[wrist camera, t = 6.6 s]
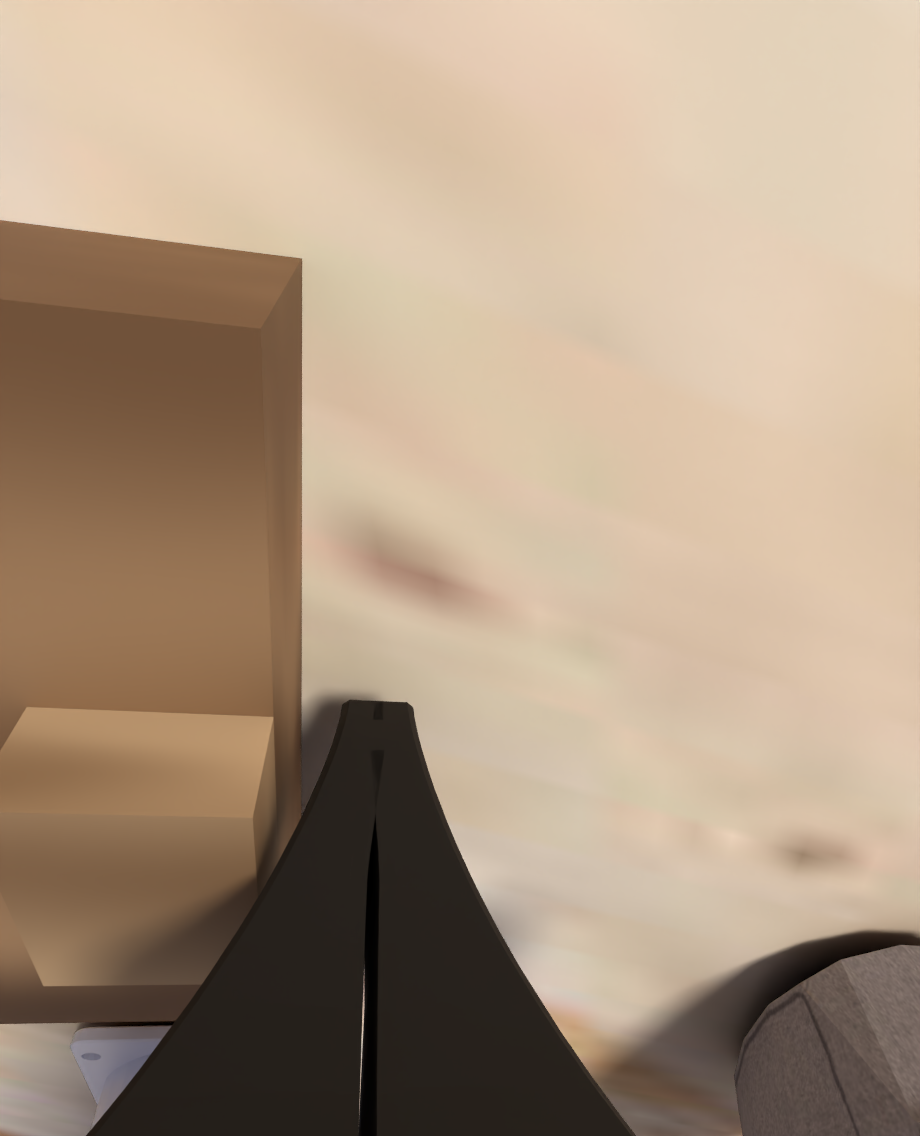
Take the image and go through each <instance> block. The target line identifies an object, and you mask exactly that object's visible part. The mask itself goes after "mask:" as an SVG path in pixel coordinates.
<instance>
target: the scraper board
mask: <svg viewBox="0 0 920 1136" xmlns="http://www.w3.org/2000/svg"><path fill="white" fill-rule="evenodd" d="M301 672H302V259H300V258H292V257H284V256H276V255H268V254H261V253H253V252H245V251H237V250H229V249H221V248H213V247H206V246H198V245H190V244H182V243H174V242H166V241H158V240H151V239H143V238H135V237H127V236H119V235H111V234H103V233H96V232H88V231H80V230H72V229H64V228H56V227H48V226H41V225H33V224H25V223H17V222H9V221H1V220H0V1024H22V1023H81V1022H141V1021H176V1020H177V1018H178V1017H179V1015H180V1014H181V1013H182V1011H183V1010H184V1009H185V1007H186V1006H187V1005H188V1003H189V1002H190V1000H191V999H192V998H193V996H194V995H195V993H196V992H197V991H198V989H199V988H200V986H201V985H202V983H203V982H204V980H205V979H206V978H207V976H208V975H209V973H210V972H211V970H212V969H213V967H214V966H215V964H216V963H217V961H218V960H219V958H220V956H221V955H222V953H223V952H224V950H225V949H226V947H227V946H228V944H229V943H230V941H231V940H232V938H233V937H234V935H235V934H236V932H237V931H238V929H239V927H240V926H241V924H242V923H243V921H244V919H245V918H246V916H247V914H248V913H249V911H250V910H251V908H252V906H253V905H254V903H255V901H256V900H257V898H258V896H259V895H260V893H261V891H262V890H263V888H264V886H265V884H266V883H267V881H268V879H269V877H270V876H271V874H272V872H273V870H274V869H275V867H276V865H277V863H278V861H279V859H280V857H281V855H282V854H283V852H284V850H285V848H286V846H287V844H288V842H289V840H290V838H291V836H292V834H293V832H294V831H295V829H296V827H297V825H298V823H299V821H300V819H301Z"/></svg>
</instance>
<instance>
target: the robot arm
mask: <svg viewBox="0 0 920 1136" xmlns="http://www.w3.org/2000/svg"><path fill="white" fill-rule="evenodd" d="M364 969H365V1010H364V1031H363V1052H362V1073H361V1093H360V1067H361V1035H362V1005H363V976H364ZM70 1049H71V1051H72V1053H73V1055H74V1057H75V1059H76V1061H77V1063H78V1066H79V1068H80V1070H81V1072H82V1074H83V1076H84V1078H85V1080H86V1082H87V1084H88V1087H89V1089H90V1091H91V1093H92V1095H93V1097H94V1099H95V1101H96V1103H97V1105H98V1106H97V1109H96V1113H95V1116H94V1119H93V1123H92V1126H91V1129H90V1132H89V1133H88V1134H87V1135H86V1136H636V1135H635V1134H634V1133H633V1131H632V1130H631V1129H630V1127H629V1126H628V1125H627V1123H626V1122H625V1121H624V1119H623V1118H622V1117H621V1116H620V1114H619V1113H618V1112H617V1110H616V1109H615V1108H614V1106H613V1105H612V1103H611V1102H610V1101H609V1099H608V1098H607V1097H606V1095H605V1094H604V1093H603V1091H602V1090H601V1088H600V1087H599V1086H598V1084H597V1083H596V1082H595V1080H594V1079H593V1078H592V1076H591V1075H590V1073H589V1072H588V1070H587V1069H586V1068H585V1066H584V1065H583V1063H582V1062H581V1060H580V1059H579V1057H578V1056H577V1055H576V1053H575V1052H574V1050H573V1049H572V1047H571V1046H570V1044H569V1043H568V1042H567V1040H566V1039H565V1037H564V1036H563V1034H562V1033H561V1031H560V1030H559V1028H558V1027H557V1025H556V1024H555V1022H554V1020H553V1019H552V1017H551V1016H550V1014H549V1012H548V1011H547V1009H546V1008H545V1006H544V1005H543V1003H542V1001H541V1000H540V998H539V997H538V995H537V994H536V992H535V990H534V989H533V987H532V986H531V984H530V983H529V981H528V979H527V978H526V976H525V975H524V973H523V971H522V970H521V968H520V967H519V965H518V963H517V961H516V960H515V958H514V956H513V954H512V953H511V951H510V949H509V947H508V946H507V944H506V942H505V940H504V939H503V937H502V935H501V933H500V932H499V930H498V928H497V926H496V924H495V922H494V920H493V919H492V917H491V915H490V913H489V911H488V909H487V907H486V905H485V903H484V902H483V900H482V898H481V896H480V894H479V892H478V890H477V888H476V886H475V883H474V881H473V879H472V877H471V875H470V873H469V871H468V869H467V867H466V864H465V862H464V860H463V858H462V856H461V853H460V851H459V849H458V847H457V844H456V842H455V840H454V837H453V835H452V833H451V830H450V828H449V825H448V823H447V820H446V818H445V815H444V813H443V810H442V807H441V805H440V802H439V799H438V797H437V794H436V792H435V789H434V786H433V783H432V780H431V777H430V774H429V771H428V768H427V765H426V762H425V758H424V755H423V752H422V748H421V744H420V741H419V737H418V732H417V728H416V723H415V718H414V711H413V707H412V706H411V705H410V704H408V703H407V702H384V701H361V700H349V701H347V702H346V703H344V704H343V705H342V710H341V716H340V720H339V724H338V727H337V731H336V734H335V737H334V740H333V743H332V746H331V749H330V752H329V754H328V757H327V760H326V762H325V765H324V767H323V770H322V772H321V775H320V777H319V779H318V781H317V784H316V786H315V788H314V790H313V793H312V795H311V797H310V800H309V802H308V804H307V806H306V809H305V811H304V813H303V815H302V817H301V819H300V821H299V823H298V825H297V827H296V829H295V831H294V832H293V834H292V836H291V838H290V840H289V842H288V844H287V846H286V848H285V850H284V852H283V854H282V855H281V857H280V859H279V861H278V863H277V865H276V867H275V869H274V870H273V872H272V874H271V876H270V877H269V879H268V881H267V883H266V884H265V886H264V888H263V890H262V891H261V893H260V895H259V896H258V898H257V900H256V901H255V903H254V905H253V906H252V908H251V910H250V911H249V913H248V914H247V916H246V918H245V919H244V921H243V923H242V924H241V926H240V927H239V929H238V931H237V932H236V934H235V935H234V937H233V938H232V940H231V941H230V943H229V944H228V946H227V947H226V949H225V950H224V952H223V953H222V955H221V956H220V958H219V960H218V961H217V963H216V964H215V966H214V967H213V969H212V970H211V972H210V973H209V975H208V976H207V978H206V979H205V980H204V982H203V983H202V985H201V986H200V988H199V989H198V991H197V992H196V993H195V995H194V996H193V998H192V999H191V1000H190V1002H189V1003H188V1005H187V1006H186V1007H185V1009H184V1010H183V1011H182V1013H181V1014H180V1015H179V1017H178V1018H177V1020H176V1021H175V1022H174V1024H173V1025H167V1026H119V1027H87V1028H82V1029H79V1030H78V1031H76V1032H75V1033H74V1036H73V1039H72V1042H71V1045H70ZM359 1098H360V1113H359Z"/></svg>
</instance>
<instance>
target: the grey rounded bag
mask: <svg viewBox="0 0 920 1136" xmlns="http://www.w3.org/2000/svg"><path fill="white" fill-rule="evenodd" d="M734 1079H735V1086H736V1094H737V1101H738V1108H739V1115H740V1121H741V1128H742V1135H743V1136H920V946H912V945H898V946H894V947H890V948H886V949H882V950H878V951H874V952H870V953H866V954H861V955H857V956H853V957H849V958H845V959H841V960H839V961H837V962H836V963H834V964H832V965H830V966H829V967H827V968H825V969H823V970H822V971H820V972H818V973H816V974H815V975H813V976H811V977H809V978H808V979H806V980H804V981H803V982H801V983H799V984H798V985H796V986H795V987H793V988H792V989H791V990H789V991H788V992H786V993H785V994H783V995H782V996H780V997H779V998H777V999H776V1000H774V1001H773V1002H771V1003H770V1004H768V1006H767V1007H766V1008H765V1010H764V1011H763V1013H762V1014H761V1015H760V1017H759V1018H758V1020H757V1021H756V1022H755V1024H754V1025H753V1027H752V1028H751V1029H750V1031H749V1032H748V1034H747V1035H746V1036H745V1038H744V1039H743V1043H742V1047H741V1051H740V1055H739V1058H738V1062H737V1066H736V1070H735V1074H734Z"/></svg>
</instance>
